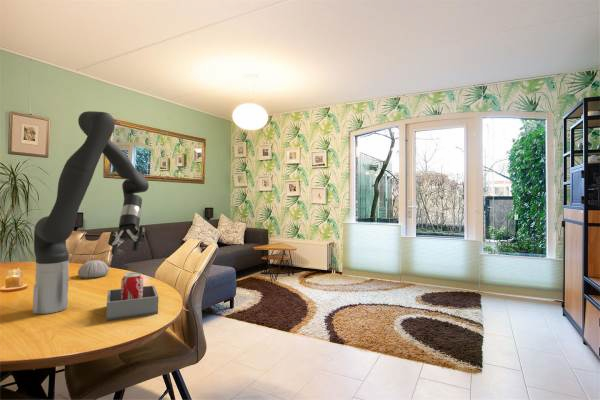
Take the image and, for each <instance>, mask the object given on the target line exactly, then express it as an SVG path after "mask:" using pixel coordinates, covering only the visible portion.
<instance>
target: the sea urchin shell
mask: <svg viewBox="0 0 600 400" xmlns="http://www.w3.org/2000/svg"><path fill="white" fill-rule="evenodd" d="M109 272H110V267H109V266H108V265H107V264H106V263H105V262H104V261H102V260H100V259H94V260H93V259H91V260H89V261H86V262H85V263H83V264H82V265H81V266H80V267H79V269H78V271H77V274H78V276H79V277H80V278H84V279H87V278H88V279H89V278H100V277H103V276H106V275H108V274H109Z"/></svg>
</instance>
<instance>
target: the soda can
mask: <svg viewBox="0 0 600 400" xmlns="http://www.w3.org/2000/svg"><path fill="white" fill-rule="evenodd" d="M143 278H144V277H143V276H142V273H141V272H128V273H125V274H123V277H122V278H121V286H120V289H121V300H129V299H137V298H143V286H144V279H143Z"/></svg>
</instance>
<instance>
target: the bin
mask: <svg viewBox="0 0 600 400" xmlns="http://www.w3.org/2000/svg"><path fill="white" fill-rule="evenodd" d="M106 297H107V299H106V315H105V317H106V318H105V319H106V320H105V321H106V322H109V321H116V320H117V321H118V320H123V319H129V318H131V319H132V318H135V317H136V318H137V317H144V316H150V315H151V316H152V315H157V314H159V294H158V291H157V289H156V286H155V285H145V286H144V285H143V298H137V299H129V300H121V288H115V289H108V290H107V296H106Z"/></svg>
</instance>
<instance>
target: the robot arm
mask: <svg viewBox="0 0 600 400" xmlns="http://www.w3.org/2000/svg"><path fill="white" fill-rule="evenodd" d="M77 122H78V126H79V128H80V130H81V131H82V133H84V134H85V136H87V137H86V139H85V141H84V142H83V144H81V146H80V147H79V148H77V150H75V151H74V153H73V154H71V156H70V157H69V158H68V159H67V160H66V161H65V164H64V165H63V168H62V171H61V173H60V176H59V178H58V183H57V184H58V185H57V192H56V200H55V202H54V205H53V207H52V209H51V211H50V213H49V215H47V216H44V217H41V218H40V219H39V220H38V221H37V222H36V224H35V225H34V229H33V230H34V231H33V244H34V245H33V251H34V255H35V283H34V285H33V294H32V295H33V296H32V297H33V299H32V301H33V302H32V303H33V305H32V314H33V315H37V314H39V315H40V314H41V315H44V314H53V313H59V312H61V311H64V310H66V309H67V308H68V305H69V302H68V301H69V298H68V297H69V271H70V270H69V268H70V267H69V263H70V262H69V261H70V260H69V259H70V253H69V251H68V249H67V240H68V239H69V238H70V236H71V235H72V233H73V231H74V228H75V225H76V224H75V223H76V219H77V217H78V216H77V215H78V212H79V209H80V206H81V204H82V201H83V200H84V197H85V195H86V193H87V191H88V189H89V186H90V184H91V181H92V180H93V177H94V174H95V171H96V168H97V166H98V163H99V162H100V158H101V157H102V154H103V155H104V157H105V158H106V159H107V160H108V161H109V163H110V164H111V166H112V167H113V169H114V171H115V172H116V173H117V175H118V177H120V179H125V180H124V181H123V182H122V185H121V188H122V192H123V205H122V209H121V211H120V217H119V222H118V230H117V231H114V230H112V231H111V232H110V235H109V239H108V242H107V244H108V246H111V251H110V252H111V254H112V256H117V255H118V253H119V246H120V245H121V244H123V243H124V241H132V240H133V243H132V252H133V253H137V252H138V251H139V248H140V244H141V242H145V240H146V228H145V227H143V226H142V225H140V221H141V216H142V215H141V214H142V213H141V211H142V204H143V203H142V202H143V198H142V196H140V195H138V193H145V192H147V191H148V190H149V184H150V183H149V182H148V179H147V178H146V177H145V176H144V175H143V174H142V173H141V172H139V170H137V168H136V167H135V166H134V164H133V163H132V162H131V159H130V158H129V157H128V156H127V154H126V153H125V152H124V151H123V150H122V149H121V148H119V146H117V145H116V144H115V143H114V142H113V141H112V140H111V137H112V136H113V134H114V131H115V124H116V123H115V119H114V117H113V115H112V114H110V113H108V112H107V111H106V112H104V111H95V110H93V111H91V110H89V111H83V112H82V113H80V114H79V116H78V121H77ZM137 234H138V235H137Z"/></svg>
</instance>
